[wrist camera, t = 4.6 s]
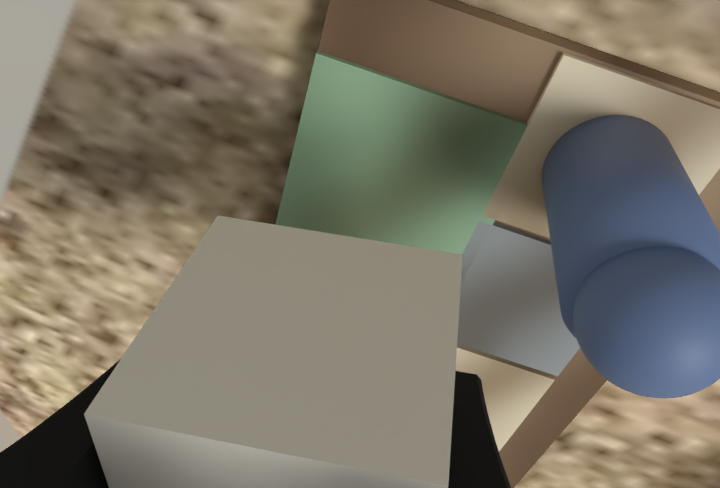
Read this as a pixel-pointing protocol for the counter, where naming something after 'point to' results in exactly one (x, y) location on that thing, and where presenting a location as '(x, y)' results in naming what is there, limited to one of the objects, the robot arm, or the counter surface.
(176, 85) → the counter surface
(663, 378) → the blue cylinder
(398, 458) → the beige cube
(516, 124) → the board
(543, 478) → the counter surface
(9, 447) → the robot arm
